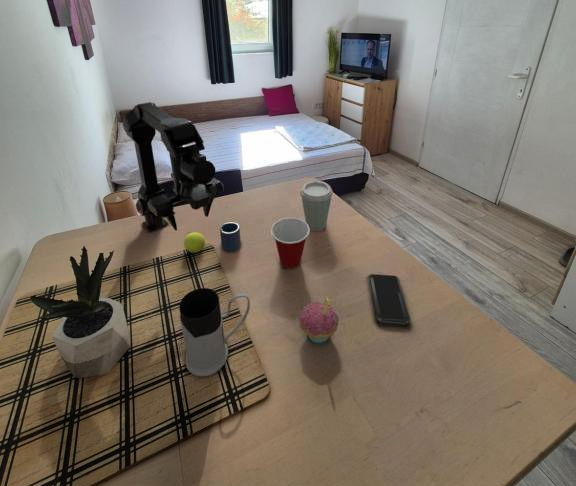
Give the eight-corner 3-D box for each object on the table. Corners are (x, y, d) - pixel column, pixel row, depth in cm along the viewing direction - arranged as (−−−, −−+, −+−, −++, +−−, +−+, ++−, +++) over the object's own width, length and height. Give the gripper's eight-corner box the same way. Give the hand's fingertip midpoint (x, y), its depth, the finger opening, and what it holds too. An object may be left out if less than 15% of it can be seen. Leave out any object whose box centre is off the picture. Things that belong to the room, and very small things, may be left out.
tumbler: (218, 246, 101) (216, 227, 98) (233, 238, 105) (232, 219, 102) (229, 255, 97) (227, 235, 95) (244, 246, 101) (243, 227, 98)
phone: (376, 320, 75) (368, 273, 89) (376, 323, 75) (368, 276, 89) (411, 323, 74) (398, 275, 88) (410, 326, 75) (397, 279, 88)
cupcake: (340, 324, 75) (343, 284, 71) (332, 357, 68) (336, 315, 63) (304, 314, 78) (305, 275, 73) (293, 344, 71) (294, 304, 66)
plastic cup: (265, 269, 92) (264, 234, 87) (280, 246, 101) (280, 214, 96) (301, 280, 88) (302, 244, 83) (313, 255, 97) (314, 222, 92)
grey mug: (183, 345, 70) (173, 293, 64) (246, 323, 76) (242, 273, 70) (188, 383, 63) (178, 328, 57) (257, 356, 68) (255, 303, 62)
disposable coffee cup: (332, 235, 106) (335, 195, 100) (299, 235, 106) (300, 195, 100) (329, 217, 116) (331, 179, 110) (299, 217, 116) (299, 179, 110)
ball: (181, 250, 99) (179, 234, 97) (199, 241, 103) (197, 226, 101) (191, 259, 95) (189, 243, 93) (209, 250, 99) (207, 234, 97)
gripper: (162, 195, 70) (172, 253, 76) (233, 169, 82) (237, 221, 88) (141, 178, 77) (152, 232, 84) (210, 157, 89) (215, 205, 95)
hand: (191, 222), depth 87 cm, fingers open, 9 cm apart
